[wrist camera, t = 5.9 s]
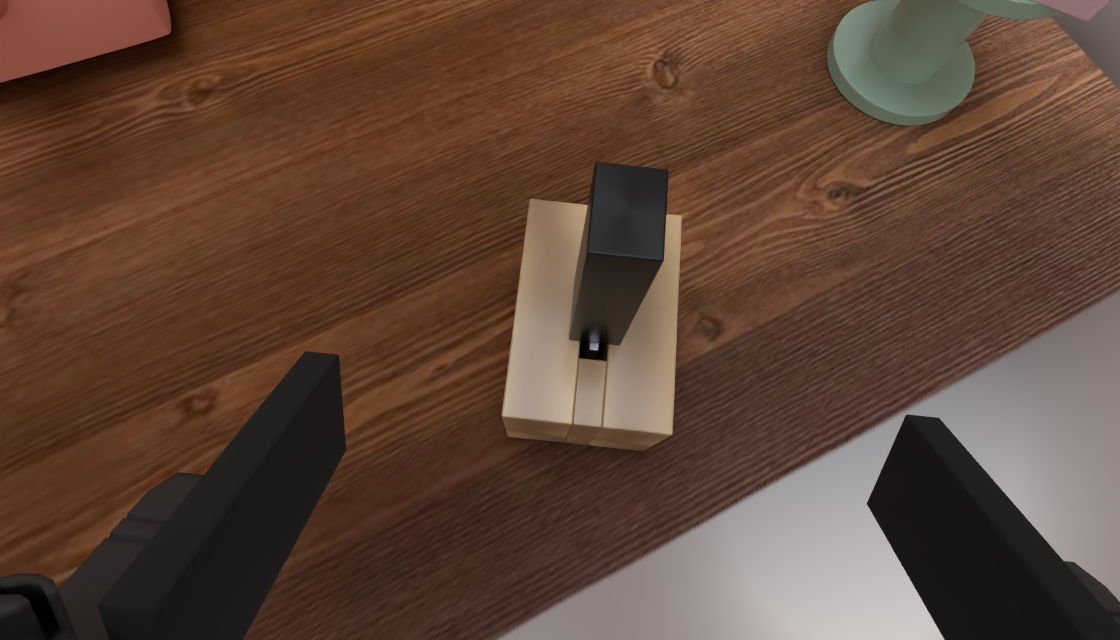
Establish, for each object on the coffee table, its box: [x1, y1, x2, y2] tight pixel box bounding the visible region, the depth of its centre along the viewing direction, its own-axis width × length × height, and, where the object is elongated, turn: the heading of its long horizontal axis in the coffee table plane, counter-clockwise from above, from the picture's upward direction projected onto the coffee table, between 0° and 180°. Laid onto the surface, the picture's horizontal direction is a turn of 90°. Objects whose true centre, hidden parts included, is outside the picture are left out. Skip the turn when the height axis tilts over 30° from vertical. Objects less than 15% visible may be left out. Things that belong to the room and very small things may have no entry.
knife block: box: [502, 199, 682, 451], centre depth 29 cm, size 7×10×7 cm
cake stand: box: [827, 0, 1063, 126], centre depth 34 cm, size 10×10×10 cm
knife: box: [569, 162, 668, 360], centre depth 25 cm, size 2×4×16 cm, turn 174°
